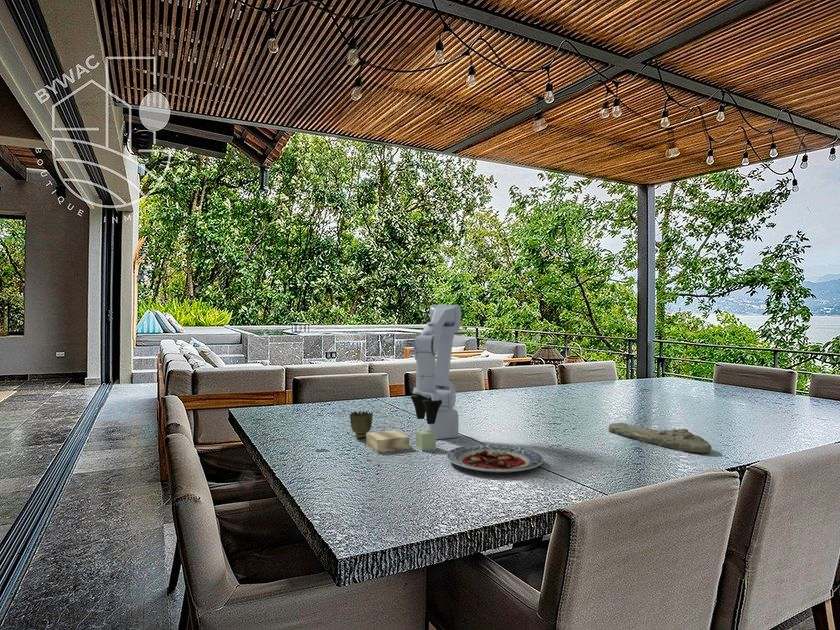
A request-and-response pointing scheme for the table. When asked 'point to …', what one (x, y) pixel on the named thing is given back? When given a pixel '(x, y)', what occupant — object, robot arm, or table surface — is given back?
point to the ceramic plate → (495, 458)
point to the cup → (361, 423)
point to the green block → (425, 439)
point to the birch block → (387, 441)
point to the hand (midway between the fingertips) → (425, 421)
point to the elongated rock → (663, 437)
